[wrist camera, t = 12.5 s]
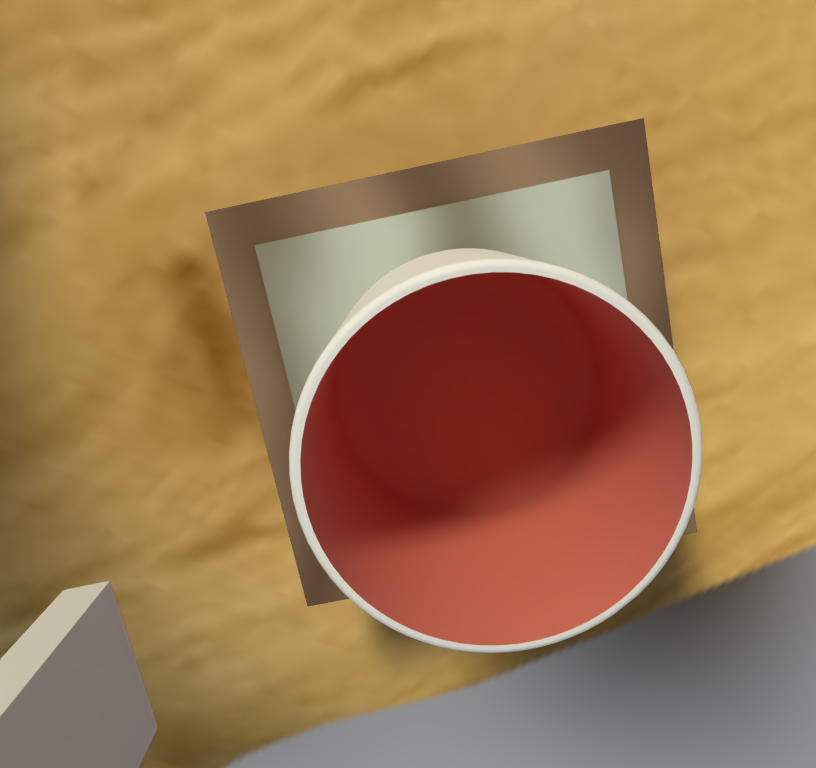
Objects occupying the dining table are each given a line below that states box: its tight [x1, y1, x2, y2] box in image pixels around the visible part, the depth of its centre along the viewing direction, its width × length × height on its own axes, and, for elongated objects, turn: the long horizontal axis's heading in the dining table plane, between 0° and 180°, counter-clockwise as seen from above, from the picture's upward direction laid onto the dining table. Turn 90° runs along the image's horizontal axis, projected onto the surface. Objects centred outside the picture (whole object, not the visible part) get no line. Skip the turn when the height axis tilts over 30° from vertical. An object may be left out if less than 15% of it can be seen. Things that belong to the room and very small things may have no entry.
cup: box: [289, 248, 702, 653], centre depth 22 cm, size 10×10×10 cm
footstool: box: [205, 118, 697, 606], centre depth 30 cm, size 16×16×7 cm
